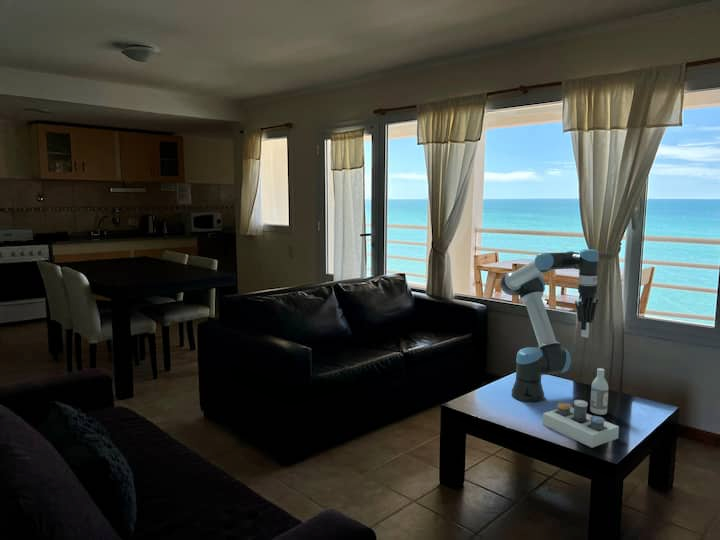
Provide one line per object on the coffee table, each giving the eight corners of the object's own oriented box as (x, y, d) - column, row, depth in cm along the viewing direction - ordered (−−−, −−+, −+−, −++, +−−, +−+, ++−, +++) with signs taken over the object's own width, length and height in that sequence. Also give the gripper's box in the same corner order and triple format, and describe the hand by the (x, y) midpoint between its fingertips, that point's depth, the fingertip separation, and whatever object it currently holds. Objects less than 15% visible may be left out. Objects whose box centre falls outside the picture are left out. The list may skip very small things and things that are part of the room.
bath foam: (601, 416, 226) (603, 372, 224) (586, 411, 232) (589, 368, 230) (610, 412, 230) (612, 369, 228) (595, 407, 236) (598, 365, 233)
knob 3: (586, 436, 206) (587, 417, 205) (594, 433, 208) (595, 414, 207) (597, 441, 201) (599, 422, 200) (606, 438, 204) (607, 419, 203)
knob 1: (554, 421, 220) (554, 404, 219) (562, 419, 222) (563, 401, 221) (564, 426, 215) (565, 408, 214) (572, 423, 218) (573, 405, 217)
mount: (542, 424, 218) (543, 413, 218) (568, 416, 226) (568, 406, 225) (591, 447, 198) (592, 435, 197) (618, 438, 205) (618, 426, 205)
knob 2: (570, 419, 212) (571, 401, 211) (578, 417, 215) (579, 399, 214) (580, 424, 208) (581, 405, 207) (589, 421, 210) (590, 403, 209)
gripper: (585, 286, 219) (582, 340, 222) (604, 284, 225) (601, 336, 228) (570, 284, 226) (567, 336, 229) (590, 282, 232) (587, 333, 235)
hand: (584, 336), depth 229 cm, fingers closed
